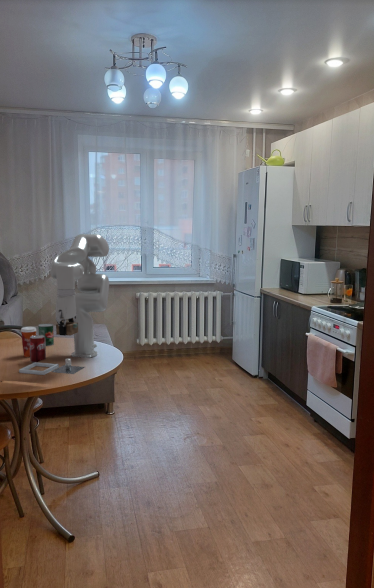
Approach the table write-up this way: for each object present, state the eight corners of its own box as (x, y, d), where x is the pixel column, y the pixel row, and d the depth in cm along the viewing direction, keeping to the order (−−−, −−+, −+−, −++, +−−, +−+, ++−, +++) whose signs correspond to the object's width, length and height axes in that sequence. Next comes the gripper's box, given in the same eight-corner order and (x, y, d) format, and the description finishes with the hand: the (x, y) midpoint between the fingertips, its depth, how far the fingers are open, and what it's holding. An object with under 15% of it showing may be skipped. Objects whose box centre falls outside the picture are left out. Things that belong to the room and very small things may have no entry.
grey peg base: (63, 367, 215) (63, 355, 214) (85, 369, 212) (85, 356, 212) (50, 374, 205) (50, 361, 204) (73, 376, 202) (73, 363, 201)
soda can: (47, 359, 230) (47, 334, 228) (43, 363, 223) (42, 338, 221) (32, 359, 230) (31, 335, 228) (28, 363, 222) (27, 338, 221)
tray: (35, 367, 215) (35, 362, 215) (58, 369, 212) (58, 364, 212) (19, 375, 204) (19, 369, 203) (43, 377, 201) (43, 371, 200)
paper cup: (25, 358, 231) (24, 330, 229) (19, 355, 237) (17, 327, 235) (40, 355, 236) (39, 328, 234) (34, 352, 242) (33, 325, 240)
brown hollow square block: (64, 331, 211) (64, 321, 210) (80, 332, 208) (80, 322, 208) (56, 334, 204) (55, 324, 203) (73, 335, 202) (72, 325, 201)
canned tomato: (40, 343, 263) (40, 323, 262) (55, 342, 264) (54, 323, 263) (37, 346, 256) (36, 326, 254) (52, 346, 256) (51, 326, 255)
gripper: (68, 290, 213) (69, 329, 216) (47, 295, 197) (48, 337, 199) (83, 290, 211) (84, 329, 214) (63, 295, 195) (64, 338, 197)
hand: (67, 333), depth 206 cm, fingers closed on brown hollow square block, 6 cm apart
